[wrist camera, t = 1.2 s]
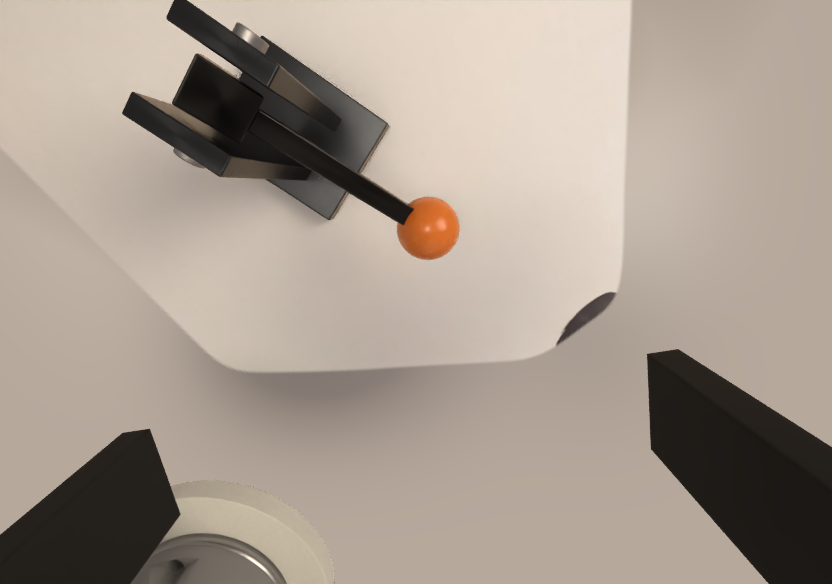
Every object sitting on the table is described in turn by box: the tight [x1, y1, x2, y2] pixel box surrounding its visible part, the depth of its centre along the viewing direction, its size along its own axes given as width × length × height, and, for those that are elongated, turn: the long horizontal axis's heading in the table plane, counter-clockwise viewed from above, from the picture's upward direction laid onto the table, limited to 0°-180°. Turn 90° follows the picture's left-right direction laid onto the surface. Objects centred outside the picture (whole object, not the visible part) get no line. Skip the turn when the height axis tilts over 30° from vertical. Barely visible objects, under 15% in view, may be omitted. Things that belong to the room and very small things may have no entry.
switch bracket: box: [122, 0, 389, 220], centre depth 24 cm, size 10×8×15 cm
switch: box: [172, 54, 459, 260], centre depth 21 cm, size 15×4×4 cm, turn 57°
